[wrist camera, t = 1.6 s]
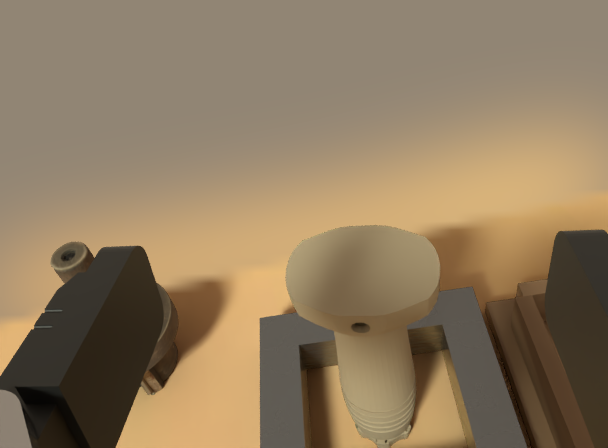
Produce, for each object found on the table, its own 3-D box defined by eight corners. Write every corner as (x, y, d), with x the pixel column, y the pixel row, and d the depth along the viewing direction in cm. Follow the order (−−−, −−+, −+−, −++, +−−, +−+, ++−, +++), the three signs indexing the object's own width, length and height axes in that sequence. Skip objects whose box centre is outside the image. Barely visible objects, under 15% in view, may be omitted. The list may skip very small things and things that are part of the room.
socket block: (470, 313, 39) (472, 286, 36) (543, 539, 29) (552, 520, 27) (269, 342, 40) (259, 318, 38) (273, 569, 30) (260, 554, 28)
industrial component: (113, 321, 43) (34, 211, 35) (203, 314, 42) (145, 199, 34) (75, 441, 37) (-33, 342, 28) (181, 436, 36) (102, 332, 27)
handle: (334, 387, 36) (293, 228, 26) (437, 389, 35) (437, 223, 25) (328, 463, 33) (278, 316, 23) (441, 468, 32) (443, 315, 21)
